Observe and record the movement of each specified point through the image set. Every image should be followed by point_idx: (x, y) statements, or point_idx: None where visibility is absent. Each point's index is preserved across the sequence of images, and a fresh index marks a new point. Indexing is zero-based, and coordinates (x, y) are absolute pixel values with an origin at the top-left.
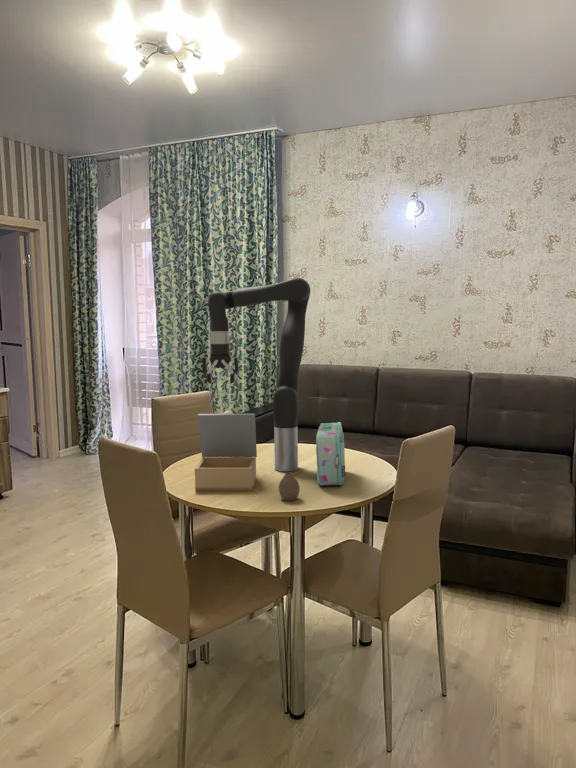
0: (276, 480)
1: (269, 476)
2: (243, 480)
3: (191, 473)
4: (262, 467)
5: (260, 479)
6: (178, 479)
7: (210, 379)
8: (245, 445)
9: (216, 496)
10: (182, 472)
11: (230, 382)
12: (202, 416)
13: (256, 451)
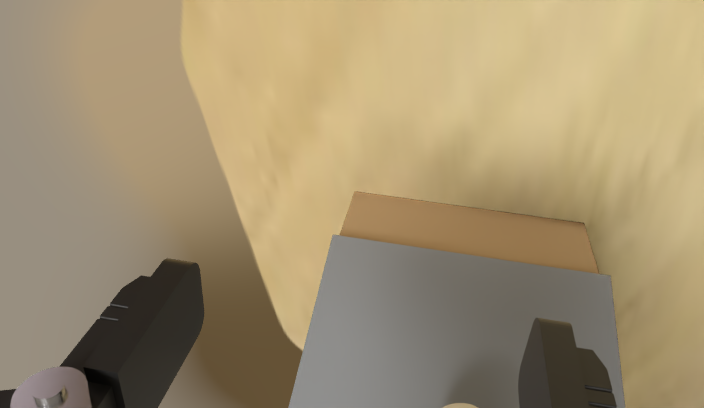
0: (666, 264)
1: (652, 207)
2: None
3: (292, 114)
4: (660, 45)
5: (599, 241)
6: (258, 192)
7: (175, 370)
8: None
9: None
10: (248, 92)
11: (520, 390)
12: None
13: (610, 304)
